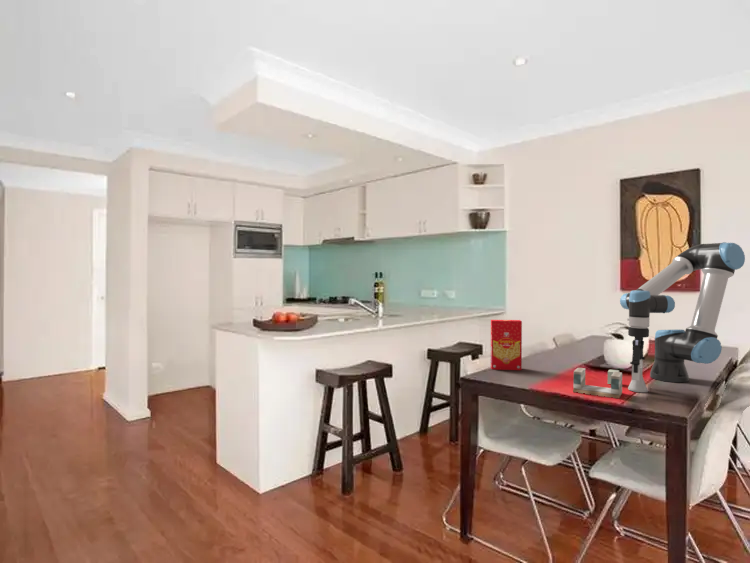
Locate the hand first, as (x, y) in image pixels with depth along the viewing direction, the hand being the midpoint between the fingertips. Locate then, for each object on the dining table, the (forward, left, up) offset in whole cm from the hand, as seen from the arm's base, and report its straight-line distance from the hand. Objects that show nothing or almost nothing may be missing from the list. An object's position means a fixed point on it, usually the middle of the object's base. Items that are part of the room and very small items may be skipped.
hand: (637, 377), depth 191 cm
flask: (0, 0, -6) cm, 6 cm away
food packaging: (+60, -10, -6) cm, 61 cm away
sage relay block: (+10, -6, -6) cm, 13 cm away
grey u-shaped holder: (+13, +13, -6) cm, 19 cm away
